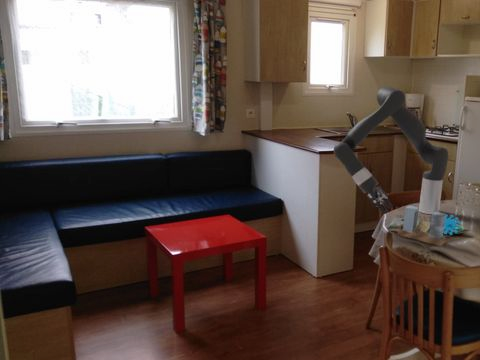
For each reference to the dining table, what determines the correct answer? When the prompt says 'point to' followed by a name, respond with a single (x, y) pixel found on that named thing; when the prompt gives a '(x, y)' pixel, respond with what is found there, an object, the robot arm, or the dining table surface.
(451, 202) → the dining table surface
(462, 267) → the dining table surface
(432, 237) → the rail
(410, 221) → the light grey block
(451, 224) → the gear
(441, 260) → the dining table surface
